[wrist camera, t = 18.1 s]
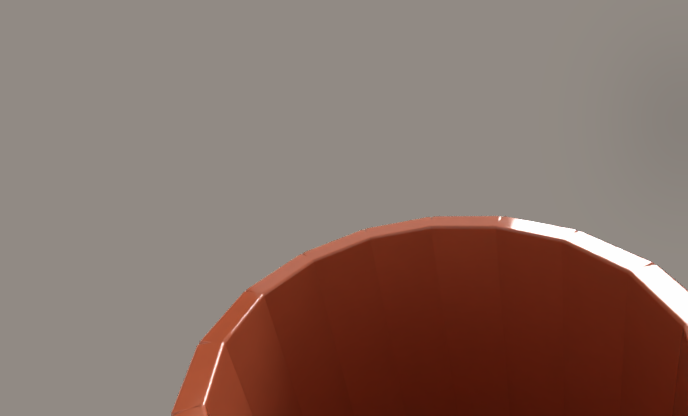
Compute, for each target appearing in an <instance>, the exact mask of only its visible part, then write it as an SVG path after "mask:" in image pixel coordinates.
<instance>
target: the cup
mask: <svg viewBox="0 0 688 416" xmlns="http://www.w3.org/2000/svg"><path fill="white" fill-rule="evenodd" d="M171 416H688V290H687V289H685V288H684V287H683V286H682V285H681V284H679V282H677V281H676V280H675V279H674V278H673V277H671V276H670V275H669V274H668V273H667V272H666V271H664V270H663V269H662V268H661V267H660V266H658V265H655V264H654V263H653V262H652V261H649V260H647V259H644V258H642V257H640V256H638V255H635V254H633V253H631V252H628V251H626V250H624V249H621V248H619V247H616V246H614V245H612V244H610V243H607V242H605V241H603V240H600V239H598V238H596V237H594V236H591V235H589V234H586V233H584V232H582V231H577V230H576V229H571V228H566V227H560V226H555V225H550V224H544V223H539V222H533V221H528V220H523V219H517V218H511V217H506V216H504V217H502V216H434V217H426V218H420V219H415V220H409V221H404V222H399V223H393V224H388V225H382V226H377V227H372V228H367V229H365V230H360V231H357V232H355V233H353V234H350V235H347V236H345V237H342V238H340V239H337V240H334V241H332V242H329V243H327V244H324V245H321V246H319V247H316V248H314V249H311V250H309V251H306V252H304V253H303V254H300V255H298V256H297V257H295V258H294V259H292V260H290V261H289V262H287V263H286V264H284V265H283V266H281V267H280V268H278V269H277V270H275V271H274V272H272V273H271V274H269V275H268V276H266V277H265V278H263V279H262V280H260V281H258V282H257V283H256V284H254V285H252V286H251V287H249V288H248V289H247V290H246V292H243V293H242V294H241V295H240V297H239V298H238V299H237V300H236V301H235V302H234V303H233V304H232V306H231V307H230V308H229V309H228V310H227V311H226V312H225V313H224V315H223V316H222V317H221V318H220V319H219V320H218V321H217V322H216V324H215V325H214V326H213V327H212V328H211V329H210V330H209V332H208V333H207V334H206V335H205V336H204V337H203V338H202V339H201V341H200V342H199V345H197V347H196V349H195V352H194V355H193V357H192V360H191V362H190V365H189V368H188V370H187V373H186V375H185V378H184V381H183V383H182V386H181V388H180V391H179V393H178V396H177V399H176V401H175V404H174V406H173V409H172V412H171Z"/></svg>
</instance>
